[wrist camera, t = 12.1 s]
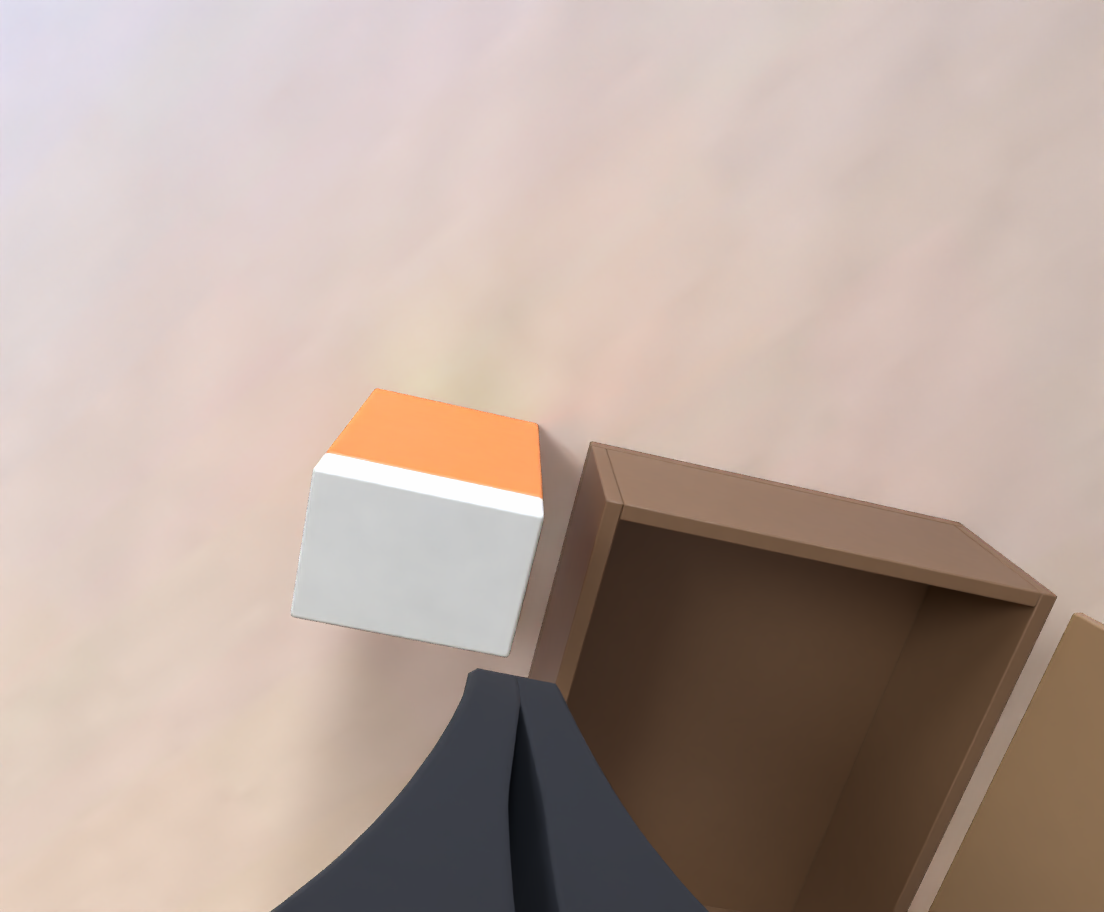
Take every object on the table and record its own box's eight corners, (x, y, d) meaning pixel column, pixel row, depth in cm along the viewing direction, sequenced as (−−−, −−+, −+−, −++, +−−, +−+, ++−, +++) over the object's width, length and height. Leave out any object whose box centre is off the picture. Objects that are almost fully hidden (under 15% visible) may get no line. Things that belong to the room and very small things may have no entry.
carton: (590, 440, 22) (605, 499, 17) (960, 522, 23) (1058, 596, 19) (477, 868, 26) (468, 997, 22) (792, 919, 27) (841, 1051, 23)
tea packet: (374, 386, 21) (312, 466, 15) (539, 423, 21) (545, 515, 15) (355, 498, 22) (288, 618, 16) (513, 531, 22) (509, 659, 16)
